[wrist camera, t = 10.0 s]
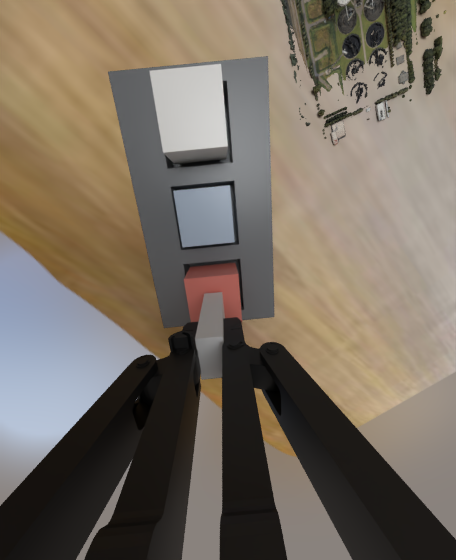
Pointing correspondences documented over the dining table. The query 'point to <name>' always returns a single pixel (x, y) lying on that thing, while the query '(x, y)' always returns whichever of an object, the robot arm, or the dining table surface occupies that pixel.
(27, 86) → the dining table surface
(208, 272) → the red key
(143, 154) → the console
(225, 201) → the blue key
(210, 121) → the white key
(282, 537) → the robot arm
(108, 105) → the dining table surface
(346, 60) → the treatment plant
